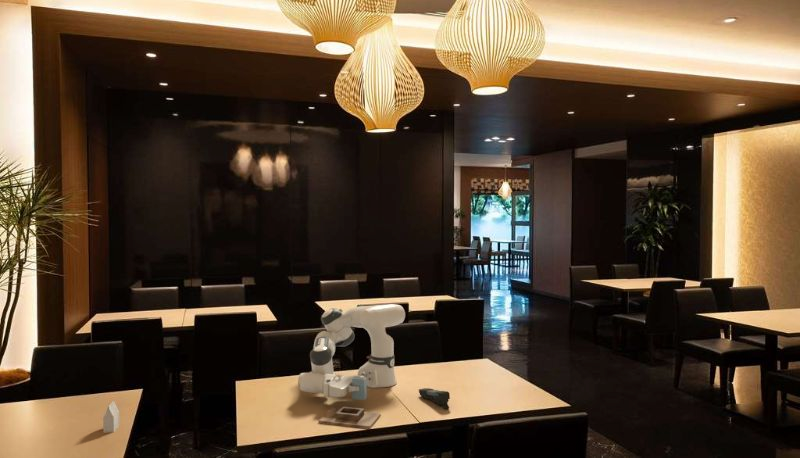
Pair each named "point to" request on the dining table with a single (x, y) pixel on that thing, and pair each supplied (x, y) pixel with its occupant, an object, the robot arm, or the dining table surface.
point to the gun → (436, 396)
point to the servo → (362, 383)
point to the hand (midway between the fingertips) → (361, 386)
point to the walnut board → (350, 417)
